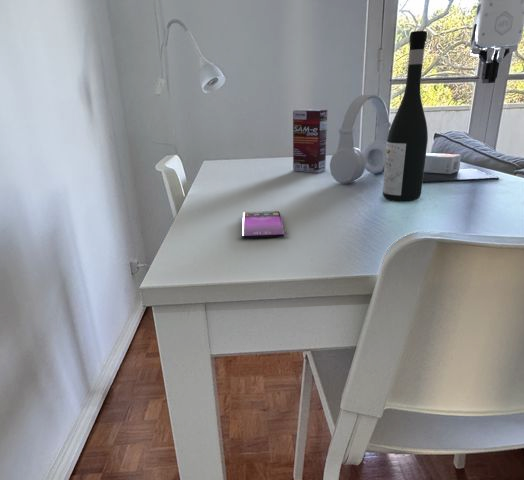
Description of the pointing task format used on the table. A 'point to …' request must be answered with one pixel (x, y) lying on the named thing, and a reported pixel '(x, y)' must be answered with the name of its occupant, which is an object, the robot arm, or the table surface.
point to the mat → (458, 176)
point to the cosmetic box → (442, 163)
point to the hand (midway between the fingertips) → (488, 82)
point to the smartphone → (262, 224)
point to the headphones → (352, 159)
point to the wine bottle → (408, 133)
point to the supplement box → (309, 140)
